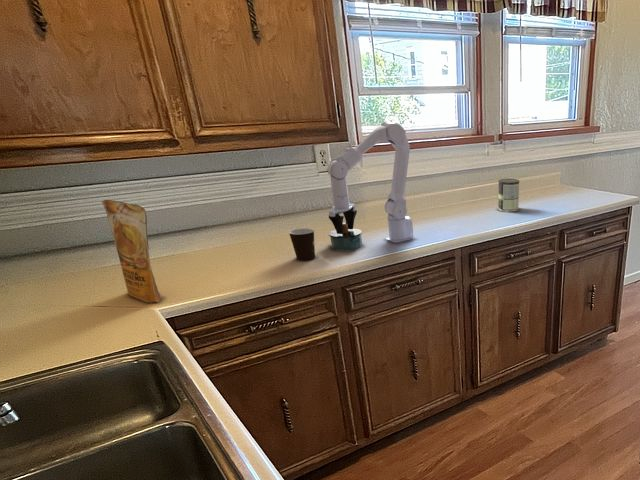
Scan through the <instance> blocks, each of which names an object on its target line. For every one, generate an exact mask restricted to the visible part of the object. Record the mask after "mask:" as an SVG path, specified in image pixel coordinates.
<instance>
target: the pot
mask: <svg viewBox="0 0 640 480" xmlns="http://www.w3.org/2000/svg"><path fill="white" fill-rule="evenodd" d="M329 237H330V236H329ZM330 245H331V249H333V250H336V251H353V250H357V249H360V248H361V247H363V240H362V234H361V235H359V236H356V237H351V238H334V237H330Z"/></svg>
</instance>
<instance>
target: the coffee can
mask: <svg viewBox="0 0 640 480" xmlns="http://www.w3.org/2000/svg"><path fill="white" fill-rule="evenodd" d="M519 195H520V180H519V179H517V178H501V179H498V203H497V204H498V206H497V209H498V211H500V212H506V213H507V212H509V213H512V212H513V213H514V212H516V211H519Z"/></svg>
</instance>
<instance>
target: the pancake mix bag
mask: <svg viewBox="0 0 640 480" xmlns="http://www.w3.org/2000/svg"><path fill="white" fill-rule="evenodd" d="M101 203H102V205H103V207H104V210H105V213H106V217H107V220H108V223H109V227H110V230H111V234H112V236H113V241H114V244H115V245H114V246H115V249H116V252H117V256H118V260H119V264H120V267H121V272H122V275H123V279H124V283H125V287H126V290H127V293H128V295H129V296H130V297H132V298H134V299H137V300H139V301H141V302H144V303H145V304H152V303H160V302H161V301H162V296H161V294H160V292H159V288H158V286H157V285H158V284H157V283H156V280H155V276H154V273H153V269H152V266H151V259H150V258H151V257H150V249H149V247H150V246H149V239H148V219H147V217H148V216H147V211H146V209H145V208H144V207H142V205H141V206H140V205H139V204H133V203H128V202H123V201H119V200H113V199H104V200H102V201H101Z"/></svg>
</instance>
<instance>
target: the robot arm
mask: <svg viewBox="0 0 640 480" xmlns="http://www.w3.org/2000/svg"><path fill="white" fill-rule="evenodd" d="M406 132H407V131H406V129H404V127H403V126H402V125H401V124H400V123H398V122H391V121H390V120H389V121H388V120H387V121H383V122H382V123H381V124H380V125H377V126H376V127H375V128H374V129H373V130H372V131H371V132H370V133H369V134H368V135H367V136H366V137H365V138H364V139H363V140H361V142H359V144H358V145H356V146H355V147H354V146H350V147H346V148H345V149H344V152H343V153H342V154H341V155H339V156H336V157H335V160H332V161H330V162H329V163H328V166H327V169H326V171H327V174H328V175H329V178H330V187H331V193H332V201H333V206H331V209H330V210H328V219H329V220H330V222H331V223H332V225H333V228H334V230H336V232H337V234H343V223H344V219H345V223H347V224H348V229H354V227H355V220H356V216H357V213H358V210H357V209H356V204H355V203H351V202H350V198H349V197H350V196H349V190H348V183H347V176H348V173H349V171H351V170H352V169H353V168H354V167H355V166H356V165H358V164H359V163H360V162H361V161H362V159H363V155H364V154H366V152H368V151H369V150H370V149H372V148H373V147H374V146H376V144H378V143H382V142H388V143H389V144H390V145H391V146H392V147H393V149H395V150H394V151H395V152H394V161H393V171H392V178H391V188H390V193H389V194H388V196H387V200H386V202H385V204H384V210H385V213H387V228H388V237H386V238H385V240H388V241H390V242H393V243H400V242H405V241H409V240H410V241H411V240H414V239H415V237H414V225H413V220H412V218H411V217H410V216H407V215H408V208H407V199H406V196H405V191H406V183H407V175H408V167H409V160H410V151H411V145H410V143H409V140H408V137H407V133H406ZM341 214H343V215H341Z"/></svg>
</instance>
